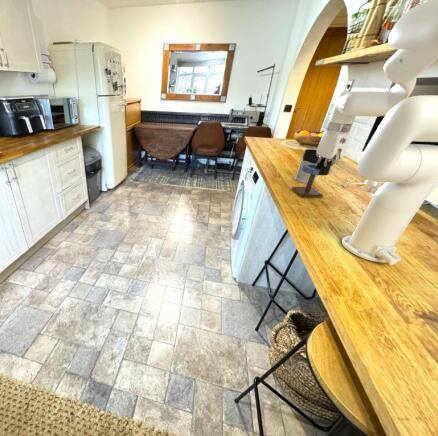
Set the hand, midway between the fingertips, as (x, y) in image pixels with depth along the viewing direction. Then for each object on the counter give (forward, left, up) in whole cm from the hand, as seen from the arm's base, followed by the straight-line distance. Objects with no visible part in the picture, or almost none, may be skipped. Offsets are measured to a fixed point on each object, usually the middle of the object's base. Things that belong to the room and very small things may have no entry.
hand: (320, 173), depth 100 cm
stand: (+4, 0, -11) cm, 12 cm away
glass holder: (+20, -10, -11) cm, 25 cm away
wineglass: (+12, -23, -9) cm, 27 cm away
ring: (+4, 0, 0) cm, 4 cm away
